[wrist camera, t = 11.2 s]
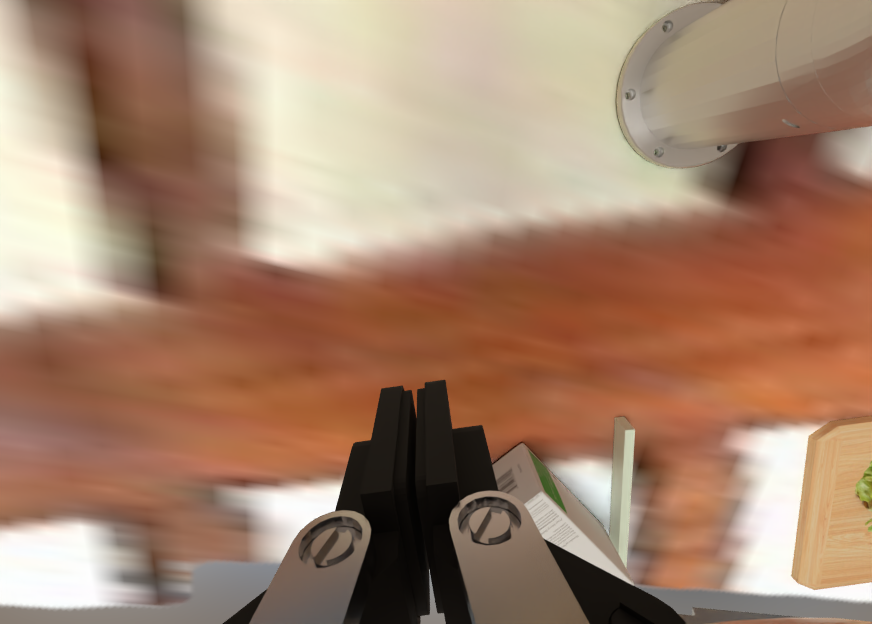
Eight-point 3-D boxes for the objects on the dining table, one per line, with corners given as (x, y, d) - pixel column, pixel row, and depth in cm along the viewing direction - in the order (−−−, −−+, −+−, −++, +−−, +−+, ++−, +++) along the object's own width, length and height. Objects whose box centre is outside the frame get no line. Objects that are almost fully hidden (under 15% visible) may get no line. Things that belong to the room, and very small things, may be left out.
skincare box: (520, 439, 46) (603, 520, 50) (475, 475, 48) (559, 552, 51) (543, 493, 38) (639, 584, 42) (488, 535, 40) (586, 620, 44)
